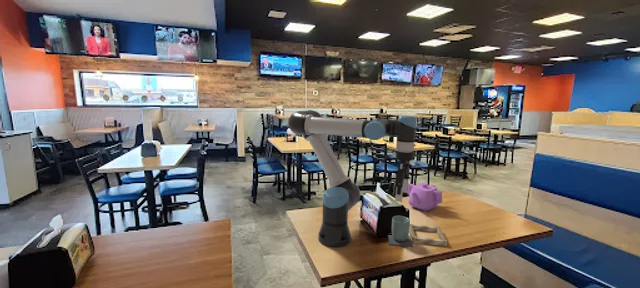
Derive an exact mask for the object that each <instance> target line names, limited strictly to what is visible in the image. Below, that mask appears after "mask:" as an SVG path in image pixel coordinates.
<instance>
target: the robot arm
mask: <svg viewBox="0 0 640 288" xmlns="http://www.w3.org/2000/svg"><path fill="white" fill-rule="evenodd" d="M287 122H288V123H287V124H288V129H289V130H290V131H291V133H293V134H295V135H299V136H303V138H304V140H305V141H306V142H308V143H310V146H311V148H312V150H313V152H314V154H315V156H316V158H317V160H318V162H319V163H320V165H321V168H322V170H323V172H324V174H325V176H326V178H327V180H328V182H329V184H330V185H329V187H328V188H327V189H326V190H324V192H323V194H322V195H323V196H322V221H321V222H322V223H321V225H320V228H319V231H318V236H317V238H318V241H319V243H321V244H322V245H324V246H326V247H327V246H328V247H331V248H332V247H333V248H340V247H345V246H347V245H348V244H350V243H351V242H352V241H351V239H352V235H351V231H350V228H349V225H348V222H349V221H348V218H349V217H348V216H349V211H351V210H352V208H353V207H355V206H356V205H357V204H358V203H359V200H360V198H361V190H360V188H359V186H358V185H357V184H356V183H354V182H353V181H352V180H351V177H349V176H346V174H345V172H344V170H343V169H342V166H341V164H340V162H339V160H338V158H337V157H336V155H335V152H334V151H333V148H332V146H331V145H330V143H329V140H328V139H327V137H326V135H329V136H340V137H341V136H342V137H350V138H352V137H353V138H360V139H361V138H363V139H369V140H370V141H371V140H372V141H378V140H381V139H382V138H384V137H395V138H396V146H395V149H396V151H395V152H396V153H395V159H396V160H398V161H399V163H398V164H397V165H398V167H397V172H396V173H397V174H396V180H395V184H394V187H395V202H399V203H401V202H402V201H403V193H406V194H408V193H407V190H408V185H409V180H410V179H411V177H410V162H411V161H413V160H414V153H415V152H414V150H415V147H416V146H417V144H416V143H415V141H416V133H417V132H416V131H417V118H416V116H413V115H399V116H398V119H386V118H373V119H372V120H368V119H367V120H365V119H352V118H350V119H349V118H337V117H335V118H334V117H323V116H322V114H321V113H320V112H318V111H316V110H311V109H310V110H298V111H295V112H293V113H292V114H290V117H288V121H287Z"/></svg>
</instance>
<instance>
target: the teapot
mask: <svg viewBox="0 0 640 288" xmlns="http://www.w3.org/2000/svg"><path fill="white" fill-rule="evenodd" d="M406 194H407V195H408V204H409V206H411V207H412V208H413V209H419V210H422V211H423V212H424V213H426V212H428V211H429V210H434V209H435V208H436V207H437V206H438V205H439V204H442V203H443V192H442V191H439V190H438V188H437V187H436V185H434V184H431V185H429V184H428V183H425V182H424V183H420V184H419V183H418V184H416V185H415V184H413V183H410V184H409V183H408V187H407V193H406Z"/></svg>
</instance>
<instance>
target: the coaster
mask: <svg viewBox="0 0 640 288" xmlns="http://www.w3.org/2000/svg"><path fill="white" fill-rule="evenodd" d="M387 238H388V245H389V246H395V247H396V246H397V247H406V248H413V244H412V240H411V237H410V234H408V238H407V239H406V240H405V241H397V240H395V239H394V238H393V236H392V235H388V234H387Z"/></svg>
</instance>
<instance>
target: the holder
mask: <svg viewBox="0 0 640 288" xmlns="http://www.w3.org/2000/svg"><path fill="white" fill-rule="evenodd" d="M414 231H420V232H421V231H422V232H432V233H436V234H437V236H438V238H431V237H429V238H428V237H419V236H416V235H415V232H414ZM409 236H410V239H411V243H414V244H421V245H422V244H424V245H429V246H431V245H432V246H433V245H434V246H442V247H447V246H448V240H447V238H446V237H445V235H444V233H443V231H442V229H441V227H440V226H435V225H434V226H432V225H421V224H411V223H410V227H409Z"/></svg>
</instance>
